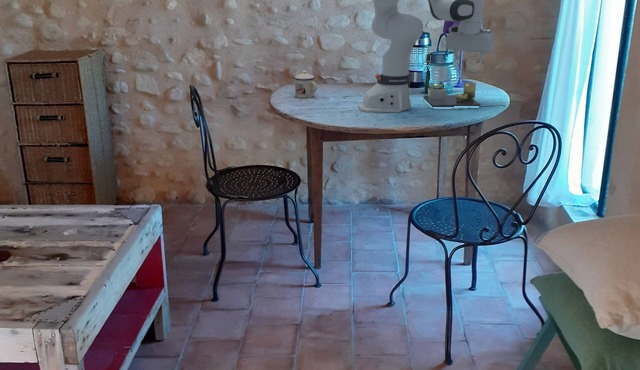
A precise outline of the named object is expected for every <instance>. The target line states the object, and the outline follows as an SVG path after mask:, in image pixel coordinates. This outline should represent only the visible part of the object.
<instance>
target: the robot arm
mask: <svg viewBox="0 0 640 370" xmlns="http://www.w3.org/2000/svg"><path fill="white" fill-rule="evenodd" d="M372 2H373V5H374V6H373V7H374V17H373V18H372V22H371V30H372V32H373V33H374V35H376V36H377V37H380V38H382V39H384V40H390V44H389V47H388V50H387V51H385V52H383V53H384V54H383V55H382V63H381V64H382V66H381V67H382V71H381V73H380V74H379V73H375V74H374V78H375V79H376V80H377V82H376V84H373V86H371V87H370V88H369V89H367V90H366V91H365V93H364V95H363V100H362V102H359V103H358V105H357V108H358V109H359V110H360V111H362V112H367V113H401V111H402V112H403V110H404V111H407V110H406V109H408V110H410V109H412V105H411V104H412V103H411V99H410V86H411V84H410V83H411V81H410V80H411V77H410V58H411V52H412V49H413V47H414V45H415V44H416V42H417V41H418V40H420V38H421V37H422V36H423V35H422V34H423V32H424V25H423V22H422V20H421V19H420V18H419V17H417V16H415V15H413V14H409V13H408V14H407V13H400V11H399V8H398V3H399V2H400V0H372ZM427 2H428V5H429V11H430V14H431V16H432V17H433V18H434V19H435V20H437V21H446V22H460V23H459V24H456V25H452V26H449V28H448V34H447V35H446V39H445V44H444V45H445V46H444V47H445V48H446V50H450V51H451V50H452V51H453V53H452V54H453V55H454V62H455V61H456V62H459V61H461V60H460V59H461V56H459V55H458V52H459V51H463V52H473V53H475V52H476V53H479V55H480V56H479V57H477V58H476V64H477V63H478V64H481V63H482V59H483V57H484V56H485V53H486V54H487V53H488V54H489V53H492V52H493V51H494V49H495V48H494V46H495V44H494V40H495V35H496V34H495V32H494V31H493V30H492V29H482V27H483V18H482V17H483V16H482V15H483V12H484V5H485V4H484V3H485V2H484V0H427ZM409 108H410V109H409Z"/></svg>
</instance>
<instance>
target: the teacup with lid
mask: <svg viewBox="0 0 640 370" xmlns="http://www.w3.org/2000/svg"><path fill="white" fill-rule="evenodd" d="M301 71H302V72H300V73H299V74H297V75H295V76H294V89H295V90H294V93H295V97H296V98H298V99H311V98H313V97H315V93H316V92H317V90H318V85H317V83H316V82H315V76H314V75H312V74H310V73H308V71H307V70H301Z"/></svg>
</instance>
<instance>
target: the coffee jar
mask: <svg viewBox="0 0 640 370" xmlns="http://www.w3.org/2000/svg"><path fill="white" fill-rule="evenodd" d="M431 53H432V52H429V53H428V54H427V55H426V62H425V63H426V73H425V82H424V92H425V91H428V87H429V80H430V71H429V69H428V67H427V65H428V64H429V63H430V55H431Z"/></svg>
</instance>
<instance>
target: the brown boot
mask: <svg viewBox="0 0 640 370" xmlns="http://www.w3.org/2000/svg"><path fill="white" fill-rule="evenodd" d="M476 86H477V83H476V82H473V81H471V82H470V81H466V82H464V83H463V90H462V91H463V93H457V94H455V95H456V100H460V101H465V100H467V98H473V99H476V89H477V88H476Z"/></svg>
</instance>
